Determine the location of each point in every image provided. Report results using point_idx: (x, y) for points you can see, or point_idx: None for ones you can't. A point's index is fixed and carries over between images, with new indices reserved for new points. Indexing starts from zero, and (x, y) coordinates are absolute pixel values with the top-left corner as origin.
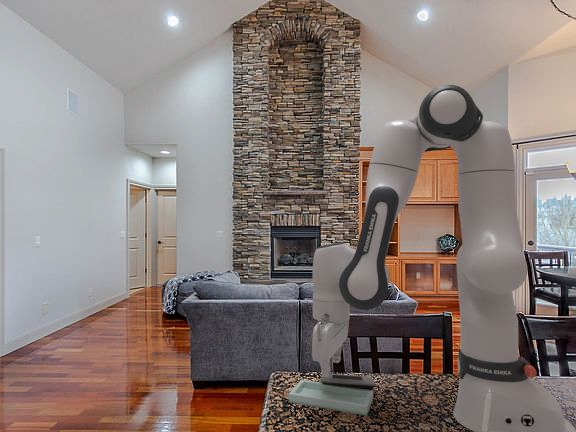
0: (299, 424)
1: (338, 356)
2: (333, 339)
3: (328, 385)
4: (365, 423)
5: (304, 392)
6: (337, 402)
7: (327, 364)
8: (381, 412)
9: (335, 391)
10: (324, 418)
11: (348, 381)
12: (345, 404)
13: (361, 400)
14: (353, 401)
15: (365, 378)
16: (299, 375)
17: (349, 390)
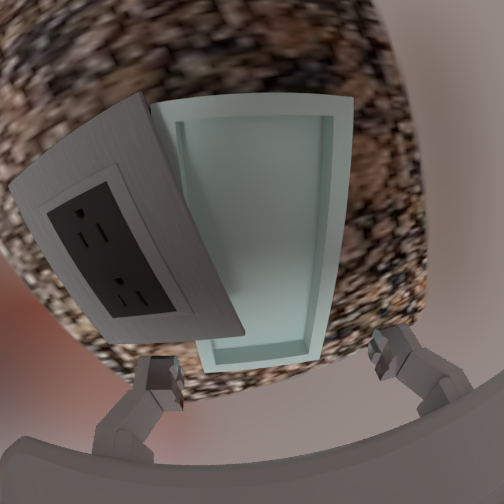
0: (416, 273)
1: (172, 389)
2: (489, 488)
3: None
4: (386, 98)
5: (249, 337)
6: (343, 222)
7: (454, 368)
8: (281, 43)
9: None
10: (384, 231)
11: (168, 241)
12: (347, 189)
13: (223, 140)
14: (249, 170)
15: (46, 191)
16: (134, 373)
17: None
